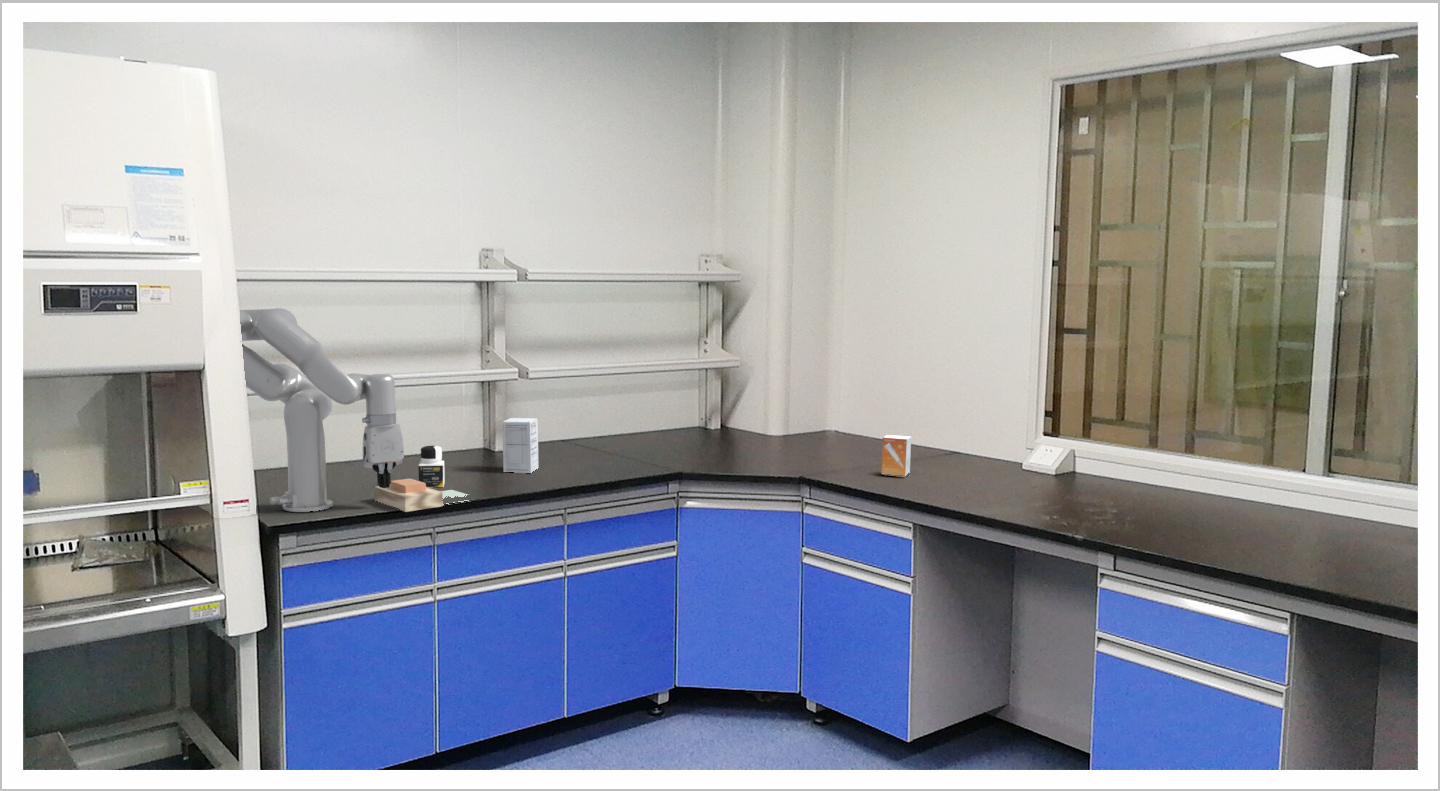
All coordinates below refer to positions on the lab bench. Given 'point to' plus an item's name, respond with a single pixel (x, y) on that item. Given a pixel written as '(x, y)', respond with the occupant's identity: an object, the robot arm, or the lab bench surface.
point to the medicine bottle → (431, 467)
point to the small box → (896, 455)
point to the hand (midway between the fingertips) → (384, 487)
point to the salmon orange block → (408, 485)
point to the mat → (453, 494)
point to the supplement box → (520, 445)
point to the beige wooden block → (409, 498)
